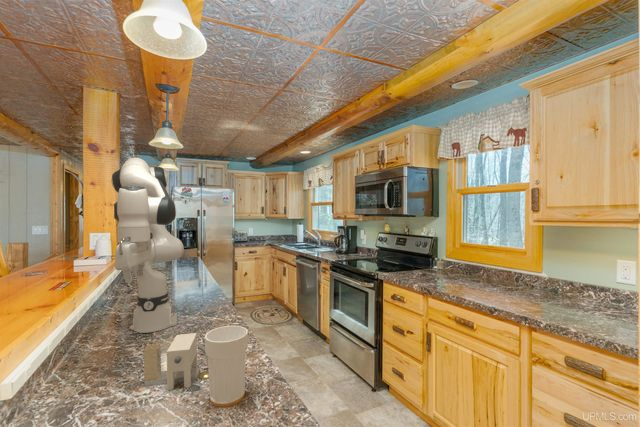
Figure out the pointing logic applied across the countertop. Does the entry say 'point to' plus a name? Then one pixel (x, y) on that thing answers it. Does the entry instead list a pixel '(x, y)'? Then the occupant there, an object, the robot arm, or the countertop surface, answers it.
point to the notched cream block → (181, 358)
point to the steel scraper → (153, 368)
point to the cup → (226, 364)
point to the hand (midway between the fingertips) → (134, 279)
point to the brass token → (204, 375)
